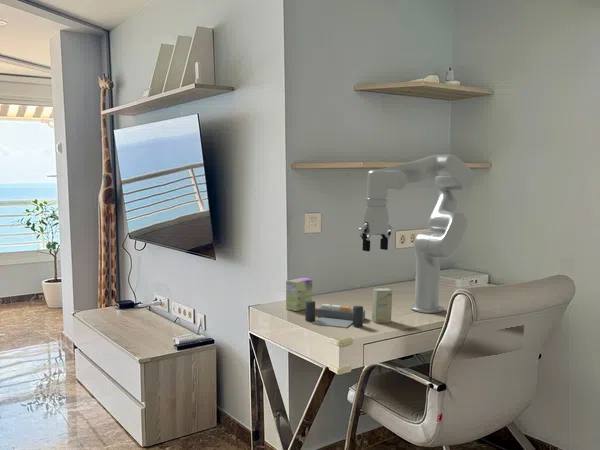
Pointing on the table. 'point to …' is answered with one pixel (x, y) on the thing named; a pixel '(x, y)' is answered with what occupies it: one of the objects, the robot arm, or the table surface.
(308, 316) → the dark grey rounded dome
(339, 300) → the table surface
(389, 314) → the skincare box
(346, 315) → the grey button panel
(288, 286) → the box
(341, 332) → the table surface
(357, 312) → the dark grey capsule
